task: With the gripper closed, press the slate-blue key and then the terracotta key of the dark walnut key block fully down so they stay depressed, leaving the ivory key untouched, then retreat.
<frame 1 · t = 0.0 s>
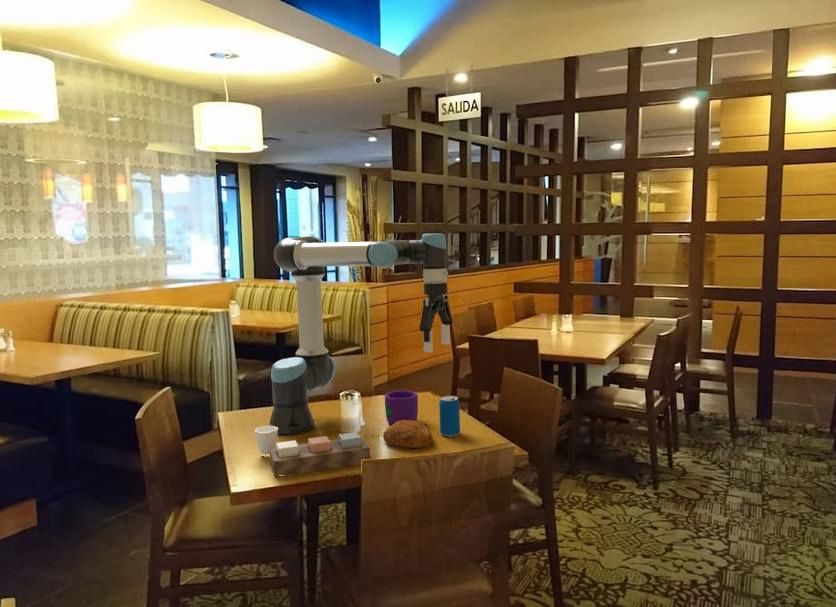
hand: (437, 348, 204), 28 cm above the table, fingers open, 13 cm apart
terracotta key: (319, 447, 182), point 5 cm above the table, slide at 0.0 cm
slate key: (349, 443, 185), point 5 cm above the table, slide at 0.0 cm
mug: (398, 420, 222), on the table
cup: (267, 454, 193), on the table
ivory key: (287, 452, 180), point 5 cm above the table, slide at 0.0 cm
beverage can: (450, 434, 205), on the table
key block: (320, 463, 183), on the table
pastry: (410, 443, 199), on the table
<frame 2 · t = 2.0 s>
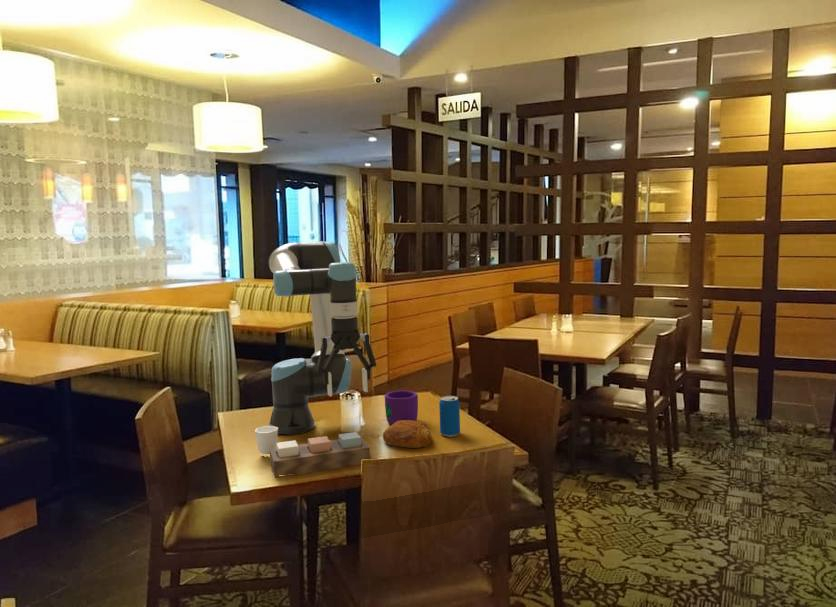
hand: (347, 393, 184), 20 cm above the table, fingers open, 10 cm apart
nothing on the table moved.
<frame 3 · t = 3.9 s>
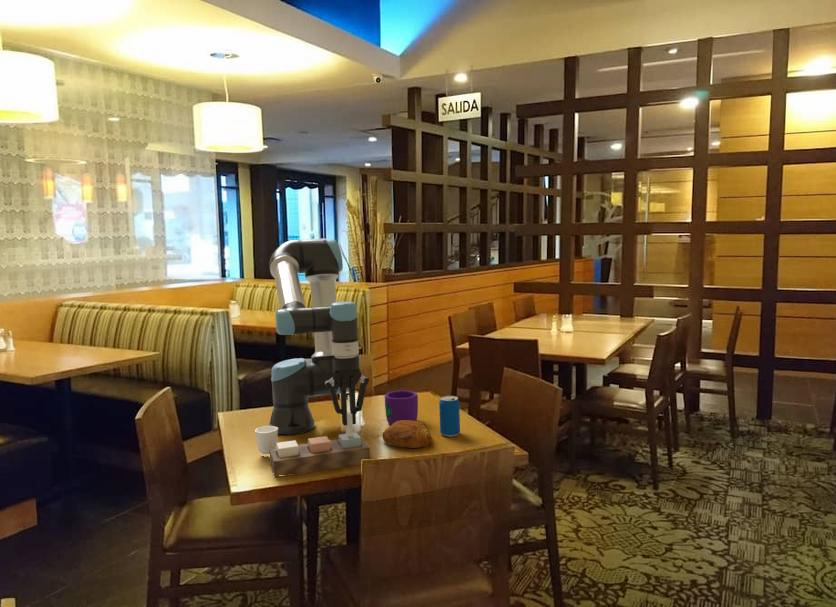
hand: (349, 435, 185), 7 cm above the table, fingers closed
slate key: (349, 443, 185), point 5 cm above the table, slide at 0.1 cm, touching gripper
everything else where it was.
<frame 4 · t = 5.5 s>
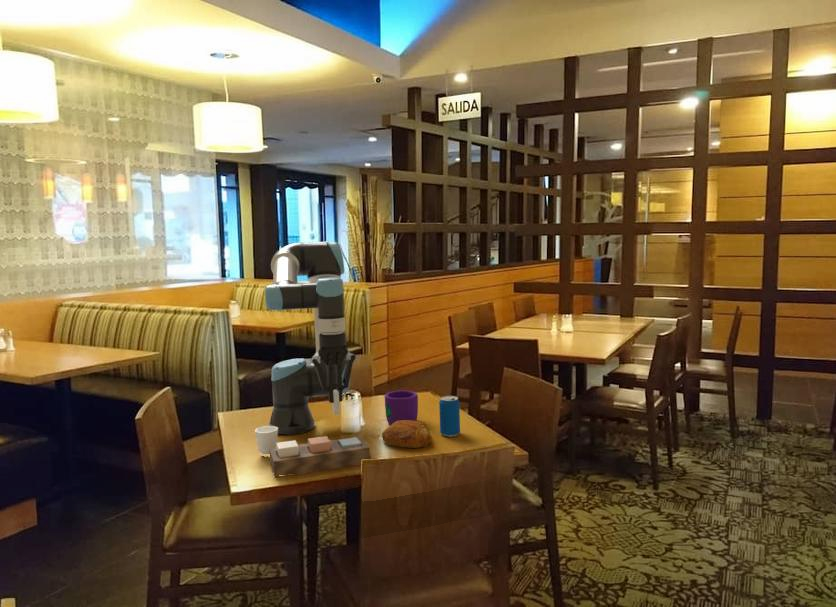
hand: (336, 412, 183), 14 cm above the table, fingers closed
slate key: (350, 448, 186), point 3 cm above the table, slide at 1.7 cm
everything else where it was.
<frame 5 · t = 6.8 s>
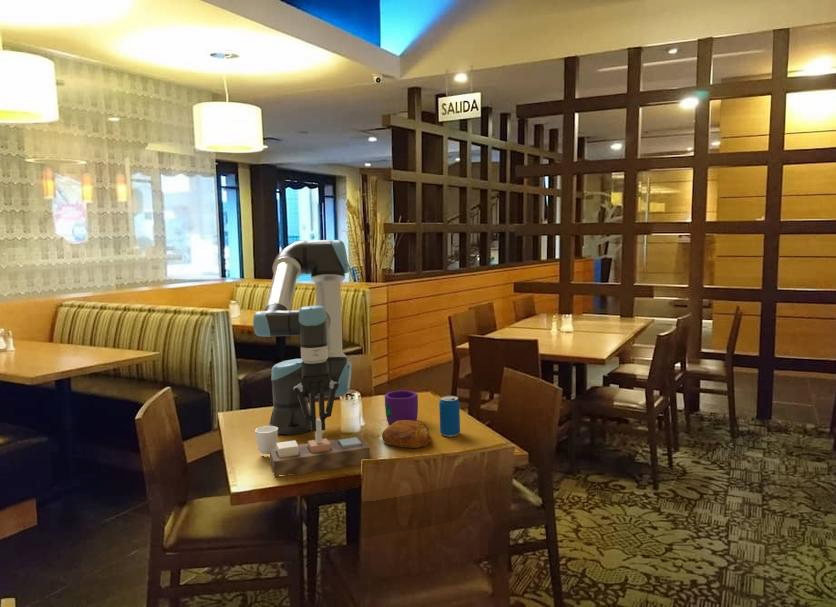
hand: (318, 441, 182), 7 cm above the table, fingers closed
terracotta key: (319, 449, 183), point 4 cm above the table, slide at 0.7 cm, touching gripper
everything else where it was.
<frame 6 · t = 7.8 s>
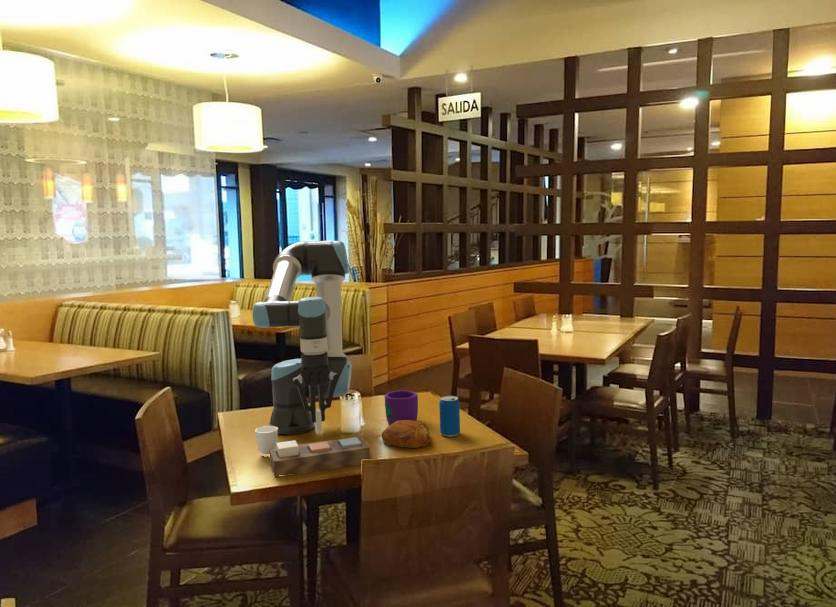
hand: (318, 432, 183), 9 cm above the table, fingers closed
terracotta key: (319, 453, 183), point 3 cm above the table, slide at 1.7 cm
everything else where it was.
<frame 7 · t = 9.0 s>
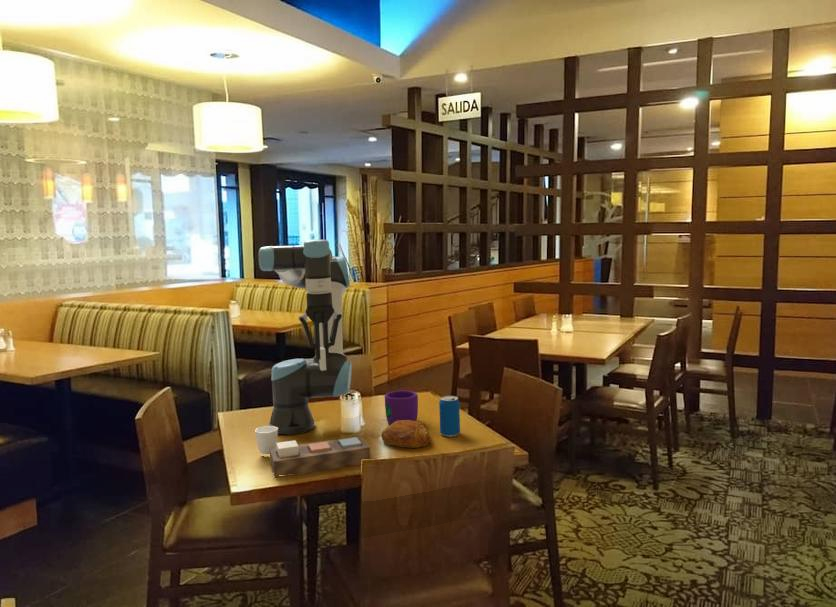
hand: (323, 369, 192), 25 cm above the table, fingers closed
nothing on the table moved.
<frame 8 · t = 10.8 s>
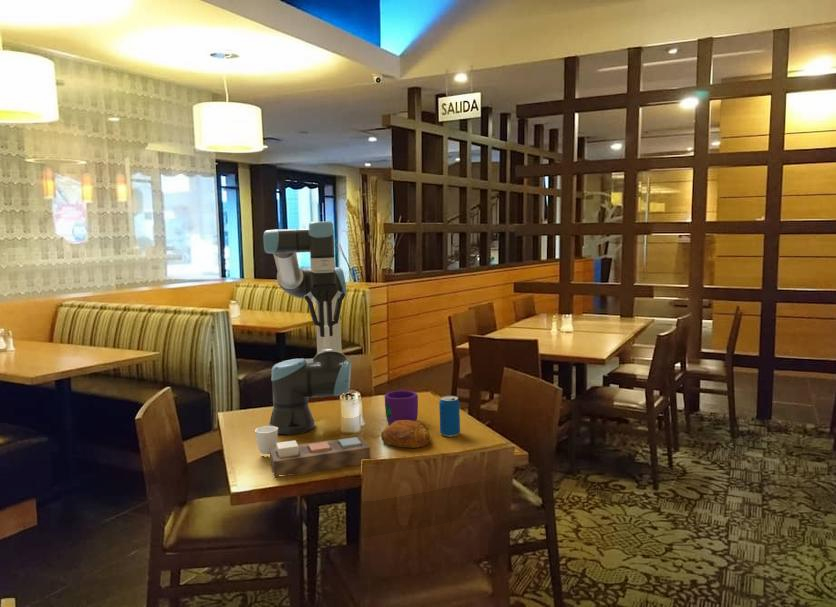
hand: (326, 346, 199), 30 cm above the table, fingers closed
nothing on the table moved.
at the end: slate key slide at 1.7 cm; terracotta key slide at 1.7 cm; ivory key slide at 0.0 cm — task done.
